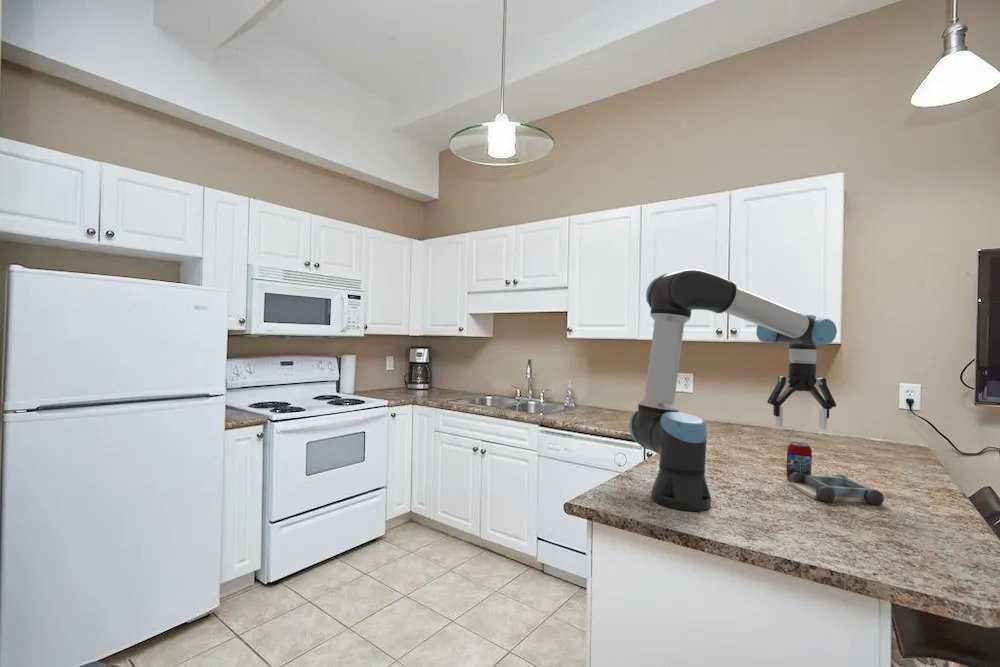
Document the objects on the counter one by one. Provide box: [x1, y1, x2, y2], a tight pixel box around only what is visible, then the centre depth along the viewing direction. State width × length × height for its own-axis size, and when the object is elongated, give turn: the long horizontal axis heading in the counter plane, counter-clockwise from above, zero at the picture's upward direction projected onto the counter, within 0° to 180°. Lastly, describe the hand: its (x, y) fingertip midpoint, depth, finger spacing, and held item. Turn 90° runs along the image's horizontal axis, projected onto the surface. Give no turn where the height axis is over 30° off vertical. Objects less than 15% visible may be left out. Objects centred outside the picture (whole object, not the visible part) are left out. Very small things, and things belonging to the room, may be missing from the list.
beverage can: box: [786, 441, 813, 479], centre depth 152 cm, size 7×7×12 cm
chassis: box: [788, 472, 885, 506], centre depth 139 cm, size 18×16×4 cm
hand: (800, 427), depth 152 cm, fingers open, 13 cm apart
